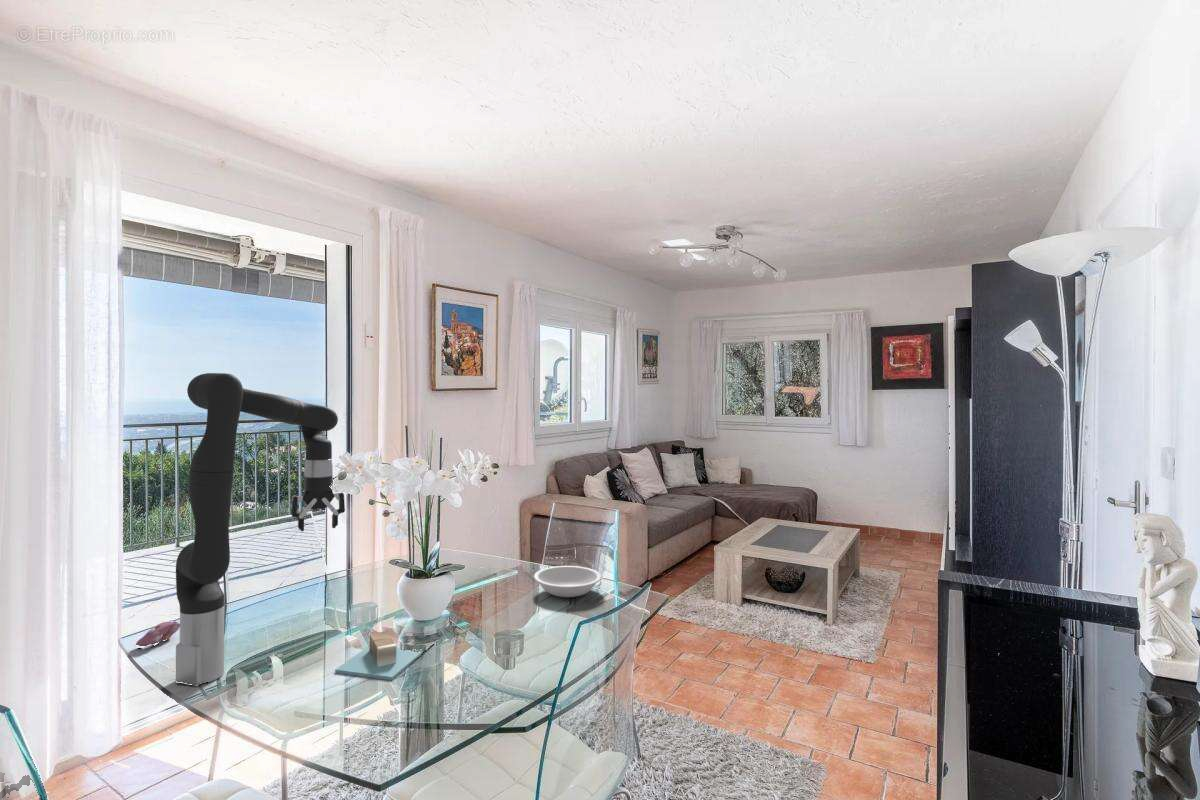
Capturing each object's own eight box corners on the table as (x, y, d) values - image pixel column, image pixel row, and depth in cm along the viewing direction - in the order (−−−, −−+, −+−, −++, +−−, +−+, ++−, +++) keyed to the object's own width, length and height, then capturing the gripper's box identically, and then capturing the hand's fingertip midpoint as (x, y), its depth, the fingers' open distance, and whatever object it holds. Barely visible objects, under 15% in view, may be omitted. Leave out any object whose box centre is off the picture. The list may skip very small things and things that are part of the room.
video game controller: (145, 656, 163) (155, 634, 163) (132, 647, 164) (142, 625, 163) (176, 641, 173) (186, 620, 172) (164, 633, 174) (173, 612, 173)
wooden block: (386, 647, 166) (396, 662, 157) (369, 650, 164) (378, 666, 154) (386, 630, 166) (396, 645, 157) (369, 634, 164) (378, 649, 154)
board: (392, 680, 149) (392, 677, 149) (335, 672, 152) (335, 669, 152) (435, 643, 171) (435, 641, 171) (384, 637, 174) (384, 635, 174)
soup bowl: (578, 611, 198) (578, 591, 198) (519, 597, 210) (520, 578, 209) (613, 590, 218) (613, 572, 218) (558, 579, 230) (558, 562, 230)
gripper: (293, 477, 171) (292, 534, 171) (346, 474, 179) (346, 529, 179) (290, 474, 177) (289, 529, 177) (342, 471, 185) (341, 524, 185)
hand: (318, 529), depth 178 cm, fingers open, 8 cm apart
